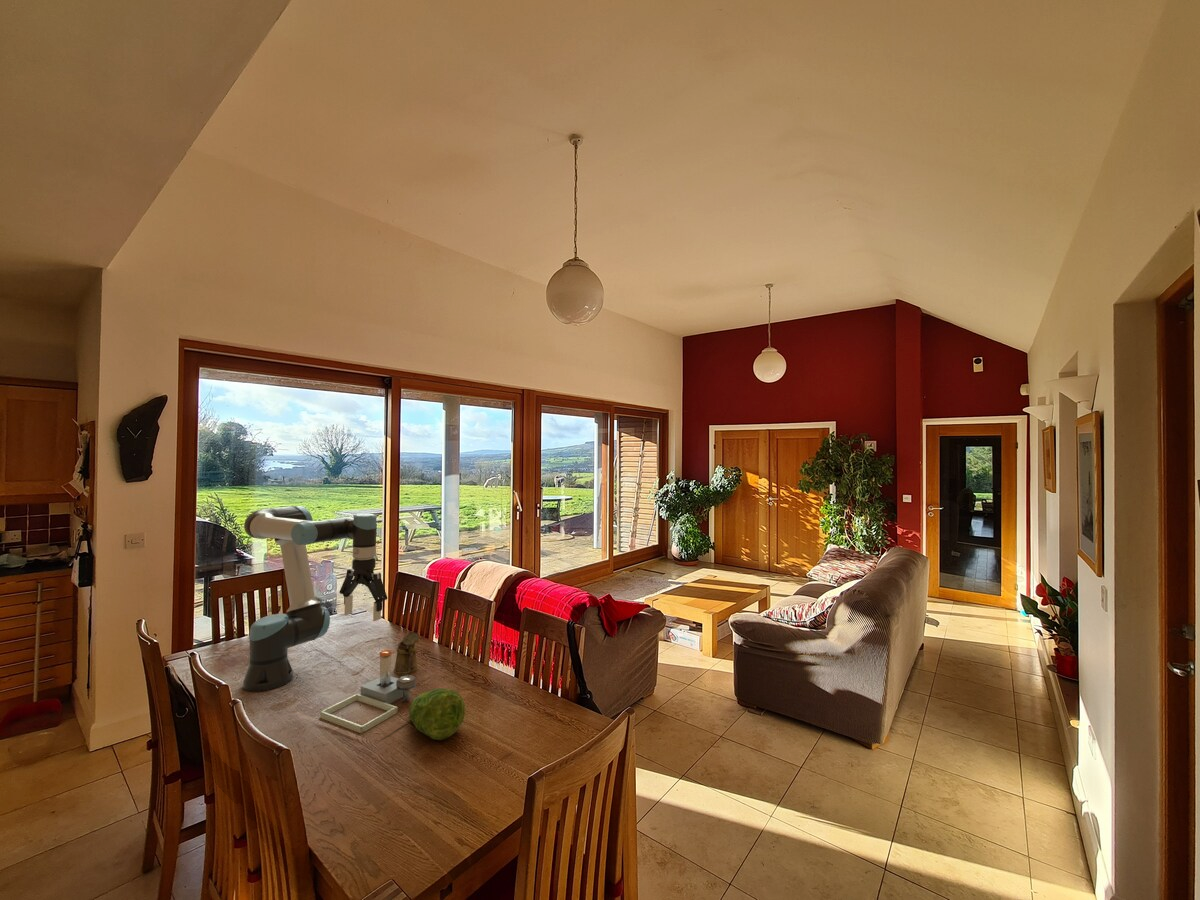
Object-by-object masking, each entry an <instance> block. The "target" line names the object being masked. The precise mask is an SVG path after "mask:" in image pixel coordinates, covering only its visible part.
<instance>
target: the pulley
mask: <svg viewBox="0 0 1200 900" xmlns="http://www.w3.org/2000/svg"><path fill="white" fill-rule="evenodd" d="M417 680H418V678H417V677H416V676H414V675H411V674H405V675H402V676H400V677H399V678H398V680H397V681H396V688H397V689H399V690H403V697H402V698H403V699H402V701H403V703H407V702H409V701H410V697H411V695H410V694H411V693H410V692H411V690H412V689H413V688H415V687H416V686H417V682H418V681H417Z"/></svg>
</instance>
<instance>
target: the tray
mask: <svg viewBox="0 0 1200 900" xmlns="http://www.w3.org/2000/svg"><path fill="white" fill-rule="evenodd" d="M355 701H358V702H360V703H364V704H366V705H370V706H372V707H375V708H378V709H381V710H385V711H386V712H384V713H382V714H381V715H378V716H377V717H375V718H374V719H371V720H369V721H367V722H366V723H365V724H358V723H355V722H353V721H350V720H347V719H344V718H343V717H339V716H337V715H334V714H332V713H335V712H336V711H339V710H340V709H342V708H344V707H346V706H349V705H351V704H353V703H354V702H355ZM319 714H320V715H319V717H320V719H323V720H320V719H319V720H320V722H322V723H325V724H328V725H330V726H333V727H336V728H338V729H341V730H344V731H345V732H349V733H352V734H353V735H356V736H360V737H361V738H362V737H363V736H362V735H360V734H363V733H364V732H366V731H368V730H370V729H372V728H373V727H375V726H377V725H378V724H381V723H382V722H384V721H385V720H387V719H389V718H391V717H392V716H394V715H396V714H398V706H396V705H393V704H387V703H384V702H381V701H378V700H375V699H372V698H369V697H366V696H363V695H361V693H356V694H354V695H352V696H350V697H347V698H345V699H343V700H342V701H341V700H340V701H339V702H337V703H335V704H333V705H331V706H329V707H327V708H325V709H323V710H321V711H320V712H319ZM324 720H325V721H324ZM326 721H328V722H331V723H333V724H331V723H328V722H326ZM334 724H335V725H334ZM337 725H339V726H341V727H344V728H346V729H344V728H341V727H338V726H337ZM347 729H348V730H347ZM349 730H352V731H354V732H352V731H349ZM355 732H356V733H355ZM357 733H359V734H357Z"/></svg>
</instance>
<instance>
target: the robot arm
mask: <svg viewBox="0 0 1200 900" xmlns="http://www.w3.org/2000/svg"><path fill="white" fill-rule="evenodd" d="M377 527H378V524H377V515H375V514H374V513H357V514H355V515H354V516H353V517H350V516H345V515H344V516H340V515H339V516H337V517H335V518H331V519H330V518H329V519H324V520H314V519H313V516H312V514H311V512H310V511H309V509H307V508H306V507H304V506H302V505H295V506H294V505H290V506H281V507H278V506H277V507H272V508H271V507H270V508H268V507H267V508H262V509H261V508H260V509H257V510H255V511H253V512H251V513H250V514H249V515H248V516H247V517H246V519H245V521H244V524H243V528H244V531H245V533H246V534H247V535H248V536H249V537H250V538H254V539H259V540H266V539H271V538H273V539H274V543H275V544H276V545H278V546H279V547H280V553H281V559H282V563H283V570H284V575H285V582H286V587H287V594H288V600H289V607H288V609H287V610H286V613H279V612H278V613H274V614H269V615H265V616H264V617H259V619H257V620H256V621H254V622H253V623H252V624H251V626H250V629H249V636H248V638H249V665H248V667H247V669H246V670H247V671H246V673H245V675H244V679H243V681H242V686H243V687H242V689H243V690H245V691H247V692H265V691H269V690H273V689H278V688H279V687H282V686H284V685H287V683H289V682H291V681H292V680H293V674H294V670H293V667H292V666H291V663H290V659H289V657H288V649H290V648H292V647H296V646H299V645H302V644H305V643H308V642H312V641H315V640H317V639H319V638H321V637H324V636H325V635H326V634H327V632H328V630H329V628H330V625H331V615H330V611H329V610H328V608H327V607H325V606H322V605H321V604H322V603H321V602H320V601H319V600H317V599H316V595H315V590H314V583H313V579H312V574H311V568H310V567H311V566H310V562H309V561H310V560H309V556H308V550H307V545H311V544H317V543H323V542H331V541H338V540H343V539H349V540H352V561H351V563H352V564H351V568H349V569H347V570H346V575H345V578H344V580H343V582H342V585H341V587H340V590H339V594H340V595H342V596H343V605H344V616H348V615H351V614H353V608H354V606H353V605H354V604H353V602H354V601H353V600H354V596H353V592H354V591H355V590H356V588H357V586H358V585H364V586H365V587H366V588H368V590H369V592H370V593H371V595H372V597H373V600H374V602H373V606H372V607H373V611H372V612H373V613H372V615H373V616H372V622H377V621H379V620H381V619H382V610H383V602H384V601H387V600H388V595H387V592H386V589H385V585H384V582H383V580H382V573H381V572H377V573H375V572H374V570H375V568H376V556H377V531H378V530H377Z"/></svg>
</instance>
